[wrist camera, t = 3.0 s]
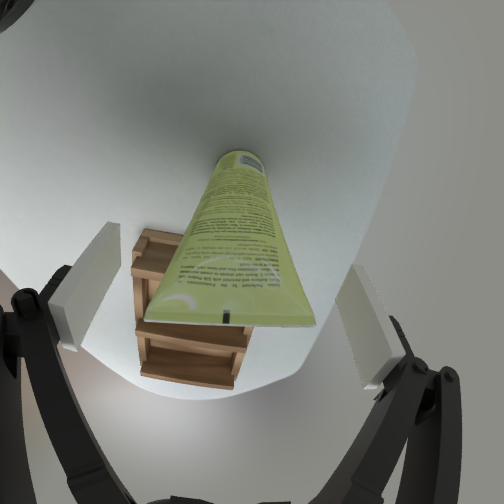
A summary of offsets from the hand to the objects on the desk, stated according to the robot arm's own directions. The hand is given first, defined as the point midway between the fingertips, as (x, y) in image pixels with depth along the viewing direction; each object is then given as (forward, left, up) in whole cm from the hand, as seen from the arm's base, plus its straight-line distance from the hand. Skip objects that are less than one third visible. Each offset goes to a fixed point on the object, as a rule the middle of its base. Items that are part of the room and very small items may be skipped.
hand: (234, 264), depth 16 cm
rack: (+18, -2, -15) cm, 23 cm away
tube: (0, 0, -15) cm, 15 cm away
